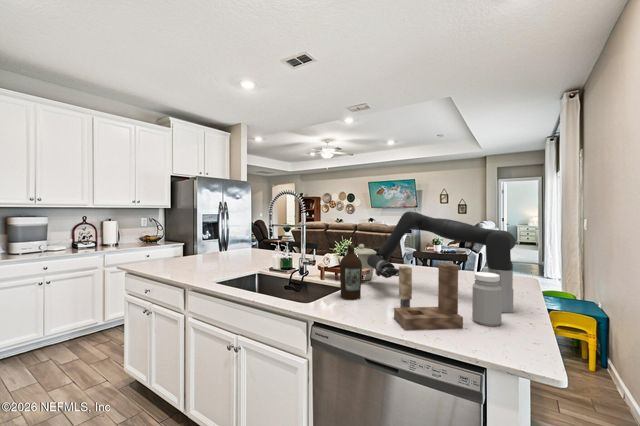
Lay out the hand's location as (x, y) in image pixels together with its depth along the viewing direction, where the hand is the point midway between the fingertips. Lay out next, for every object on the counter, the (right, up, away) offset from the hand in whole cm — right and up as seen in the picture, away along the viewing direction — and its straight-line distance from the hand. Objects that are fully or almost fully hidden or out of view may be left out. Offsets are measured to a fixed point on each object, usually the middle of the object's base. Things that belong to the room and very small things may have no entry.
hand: (395, 275), depth 140 cm
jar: (+28, -13, -25) cm, 39 cm away
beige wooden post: (+1, -12, -11) cm, 16 cm away
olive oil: (-20, -12, +7) cm, 24 cm away
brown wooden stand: (+5, -12, -26) cm, 29 cm away
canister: (-10, -12, +47) cm, 49 cm away
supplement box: (+54, -12, +17) cm, 58 cm away
